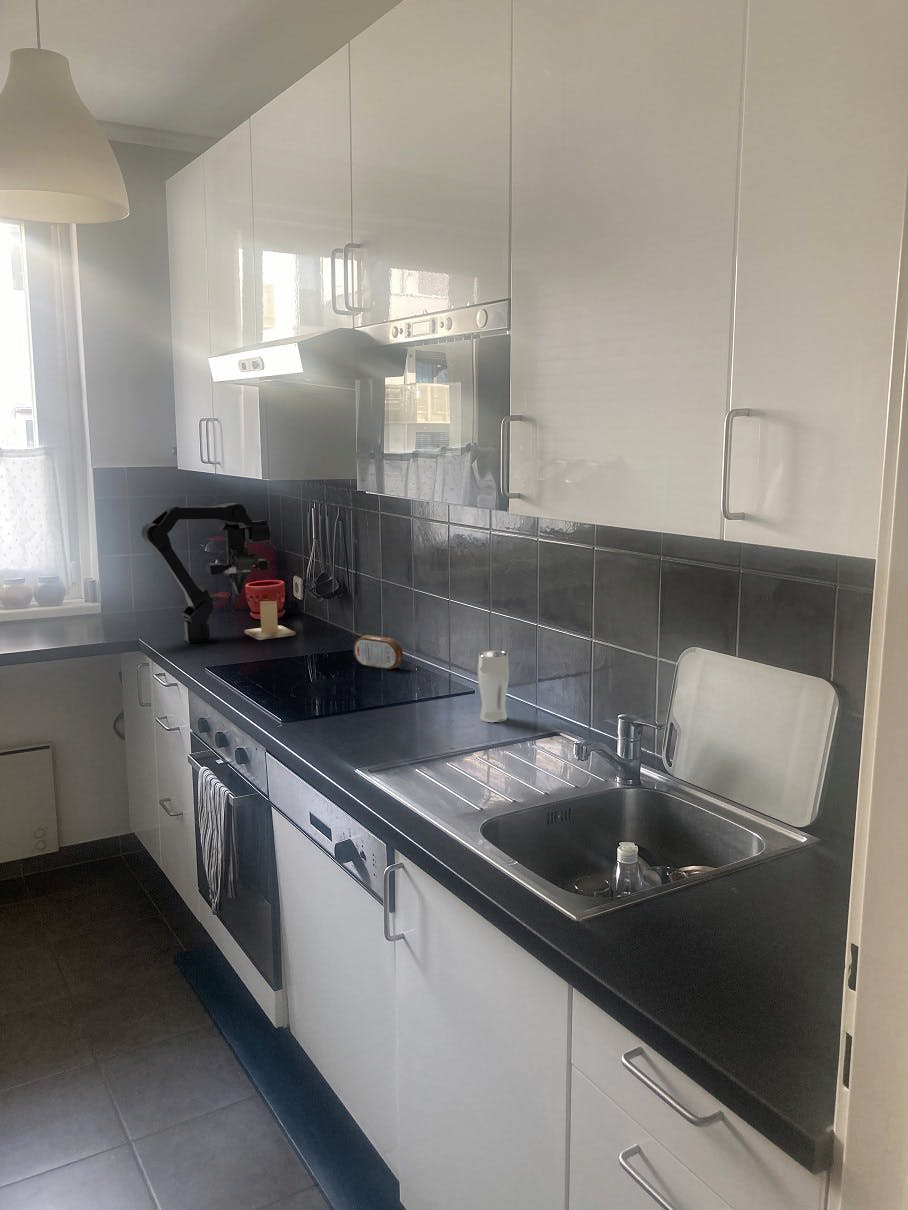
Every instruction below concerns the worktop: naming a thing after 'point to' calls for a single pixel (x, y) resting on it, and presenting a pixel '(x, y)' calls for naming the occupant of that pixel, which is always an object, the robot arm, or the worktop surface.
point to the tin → (378, 652)
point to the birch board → (258, 635)
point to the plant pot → (265, 595)
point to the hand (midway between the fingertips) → (238, 594)
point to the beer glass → (493, 684)
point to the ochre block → (269, 617)
